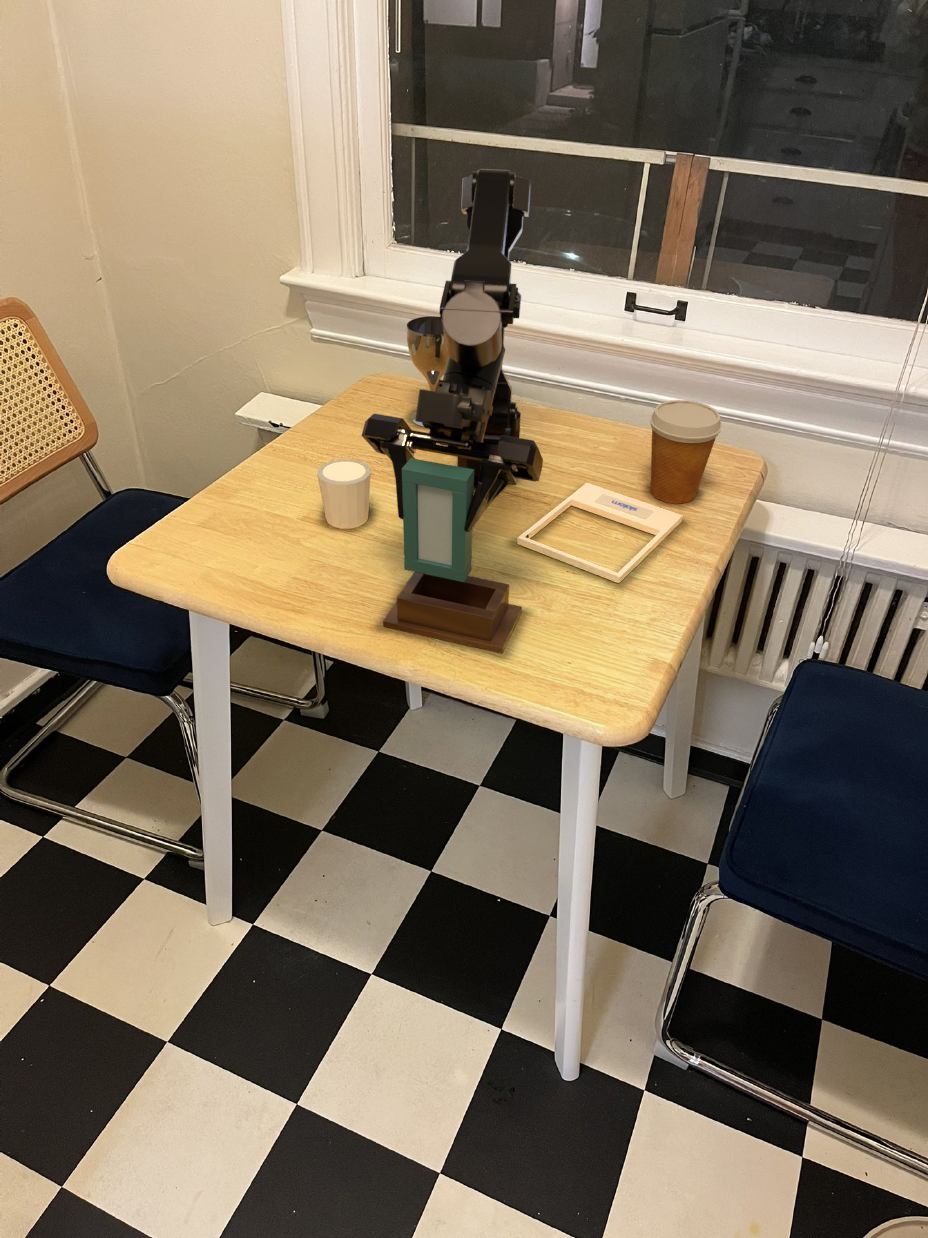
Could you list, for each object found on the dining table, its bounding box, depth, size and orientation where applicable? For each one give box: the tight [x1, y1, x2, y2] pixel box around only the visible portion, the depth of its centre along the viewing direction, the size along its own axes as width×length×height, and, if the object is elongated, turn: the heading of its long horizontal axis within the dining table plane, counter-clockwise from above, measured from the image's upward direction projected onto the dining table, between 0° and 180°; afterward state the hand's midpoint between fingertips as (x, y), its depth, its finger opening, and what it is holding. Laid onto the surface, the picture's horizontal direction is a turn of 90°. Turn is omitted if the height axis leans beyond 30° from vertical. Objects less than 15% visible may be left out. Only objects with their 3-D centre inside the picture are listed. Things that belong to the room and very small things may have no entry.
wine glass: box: [406, 315, 449, 428], centre depth 141 cm, size 8×8×15 cm
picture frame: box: [402, 458, 475, 582], centre depth 96 cm, size 2×7×12 cm, turn 71°
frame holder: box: [382, 571, 523, 654], centre depth 102 cm, size 8×14×4 cm, turn 72°
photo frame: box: [516, 482, 684, 584], centre depth 118 cm, size 15×1×18 cm
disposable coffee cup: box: [649, 399, 723, 504], centre depth 124 cm, size 10×10×12 cm
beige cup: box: [316, 458, 372, 530], centre depth 119 cm, size 7×7×7 cm
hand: (433, 524), depth 95 cm, fingers closed on picture frame, 7 cm apart
